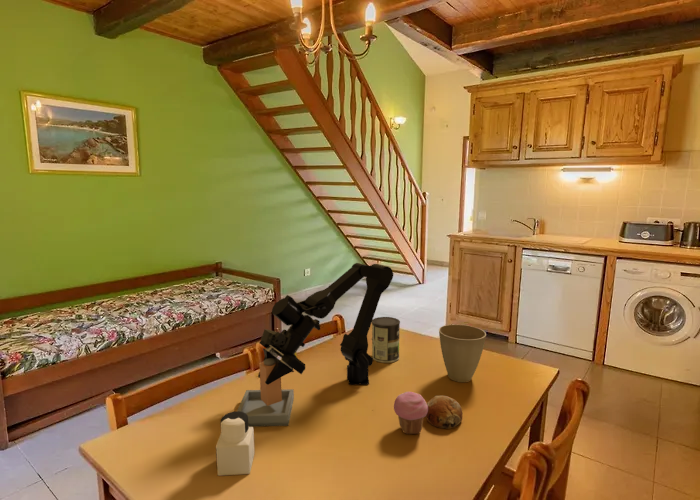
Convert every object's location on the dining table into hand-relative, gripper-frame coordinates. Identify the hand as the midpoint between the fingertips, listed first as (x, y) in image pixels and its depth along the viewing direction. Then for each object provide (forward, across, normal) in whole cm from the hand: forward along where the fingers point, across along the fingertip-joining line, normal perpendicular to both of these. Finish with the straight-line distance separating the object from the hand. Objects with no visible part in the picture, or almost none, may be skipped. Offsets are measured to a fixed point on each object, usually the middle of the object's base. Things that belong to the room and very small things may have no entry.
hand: (262, 380), depth 113 cm
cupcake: (-12, +30, +26) cm, 42 cm away
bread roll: (-20, +32, +34) cm, 51 cm away
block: (+3, 0, +6) cm, 7 cm away
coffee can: (-30, -9, +44) cm, 54 cm away
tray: (+6, 0, +7) cm, 10 cm away
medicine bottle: (+17, +16, -3) cm, 24 cm away
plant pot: (-36, +18, +51) cm, 65 cm away
